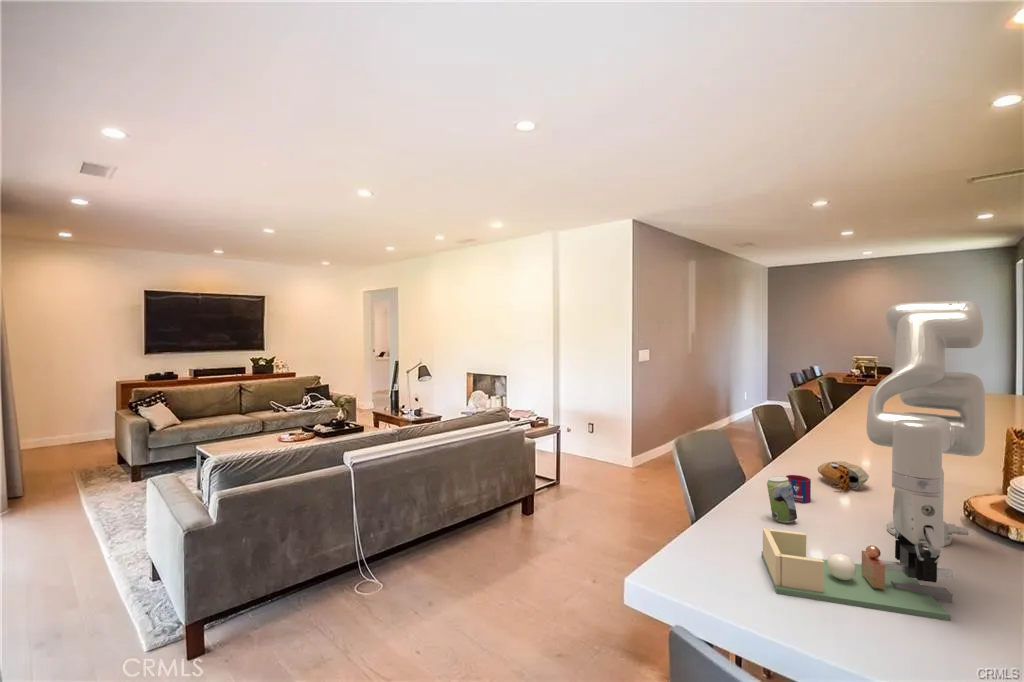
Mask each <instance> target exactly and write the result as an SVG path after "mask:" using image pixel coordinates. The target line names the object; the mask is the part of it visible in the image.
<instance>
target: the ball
mask: <svg viewBox="0 0 1024 682" xmlns="http://www.w3.org/2000/svg"><path fill="white" fill-rule="evenodd" d="M827 560H828V561H827V567H828V570H829V572H830V573H831V574H832V575H833V576H834V577H836V578H838V579H840V580H850V579H852V578H853V577H854V576H855V574H856V566H855V564H856V563H855V562H854V561H853V559H852V558H850V557H849V556H847V555H845V554H843V553H834V554H832V555H830V556H829V557H828V558H827Z"/></svg>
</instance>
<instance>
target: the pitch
mask: <svg viewBox="0 0 1024 682" xmlns="http://www.w3.org/2000/svg"><path fill="white" fill-rule="evenodd" d="M761 558H762V560H763V563H764V565H765V568H766V571H767V572H768V573H767V574H768V575H769V577H770V580H771V583H772V585H773V588H774V591H775V593H776V594H778V595H784V596H792V597H796V598H797V597H799V598H805V599H811V600H817V601H821V602H822V601H823V602H829V603H830V602H831V603H836V604H843V605H847V606H848V605H849V606H856V607H861V608H869V609H874V610H880V611H886V612H893V613H900V614H907V615H912V616H918V617H924V618H925V617H926V618H929V619H930V618H931V619H937V620H944V621H952V620H951V618H952V617H951V616H952V615H951V614H950V613H949V612H948V611H947V610H946V609H945V608H944V606H942V605H941V604H940V603H939V602H940V601H941V602H946V603H947V602H948V603H953V593H951V592H950V590H948V588H946V587H940V586H933V585H926V584H921V583H920V582H919V580H917V579H916V578H910V577H907V576H906V575H905V574H904V573H901V572H894V571H886V570H885V589H880V588H873V587H872V586H871V585H870V583H869V582H868V581H867V579H866V578H865V577H864V576H863V574H862V573H861V570H862V563H861V564H859V563H854V564H855V566H856V574H855V576H854V577H853V578H852V579H850V580H840V579H838V578H836V577H834V576H833V575H832V574H831V573H830V572H829V570H828V567H827V561H828V559H823V558H815V557H814V558H813V557H807V534H806V533H805V532H799V531H791V530H784V529H775V528H765V527H762V551H761Z"/></svg>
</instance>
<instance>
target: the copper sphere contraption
mask: <svg viewBox="0 0 1024 682" xmlns="http://www.w3.org/2000/svg"><path fill="white" fill-rule="evenodd" d="M921 548H922V552H923V553H924V551H925V550H926V548H923V547H921ZM881 554H882V553H881V550H880V548H878V547H877V546H875V545H872V544H871V545H868V546H866V548H865V550H861V565H862V570H861V573H862V574H863V576H864V577H865V578H866V579H867V581H868V582H869V583H870V585H871V586H872V587H873V588H880V589H885V570H886V571H894V572H901V573H904V574H905V575H906V576H907V577H910V578H915V558H917V559H918V557H917V553H916V548H915V546H909V545H901V544H900V560H899V562H898V561H891V560H889V561H888V560H884V559H880V556H881ZM938 578H939V579H946V580H947V579H948V580H955V571H953V570H952V569H950V568H944V567H938V566H937V579H938ZM915 579H916V578H915Z"/></svg>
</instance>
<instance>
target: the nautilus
mask: <svg viewBox="0 0 1024 682" xmlns="http://www.w3.org/2000/svg"><path fill="white" fill-rule="evenodd" d="M817 472H818V473H819V475H821V476H822V478H824V479H825V480H826V481H827V482H828V483H830V484H837V486H835V488H838V489H837V490H834V491H833V493H834V492H835V493H837V492H839V493H841V492H845V491H848V490H850V489H852V490H858V489H859V488H860V487H861V486H863V485H864V484H865V483H866V482H867V481H868V480H869V477H870V475H869V474H868V473H867V471H865V470H864V469H863V468H862V467H861V466H859V465H857V464H856V465H855V464H852V463H849V462H846V461H840V460H839V461H838V460H837V461H829V462H824V463H821V464H820V465H819V466H818V467H817ZM840 487H841V488H840Z"/></svg>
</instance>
